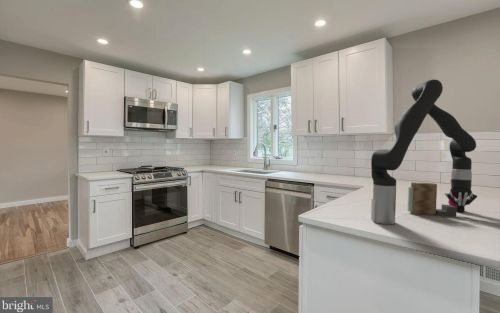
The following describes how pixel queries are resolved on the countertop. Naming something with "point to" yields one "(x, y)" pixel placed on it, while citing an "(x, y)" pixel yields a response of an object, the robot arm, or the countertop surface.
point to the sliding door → (410, 199)
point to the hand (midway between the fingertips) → (460, 212)
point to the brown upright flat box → (424, 198)
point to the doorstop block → (446, 211)
